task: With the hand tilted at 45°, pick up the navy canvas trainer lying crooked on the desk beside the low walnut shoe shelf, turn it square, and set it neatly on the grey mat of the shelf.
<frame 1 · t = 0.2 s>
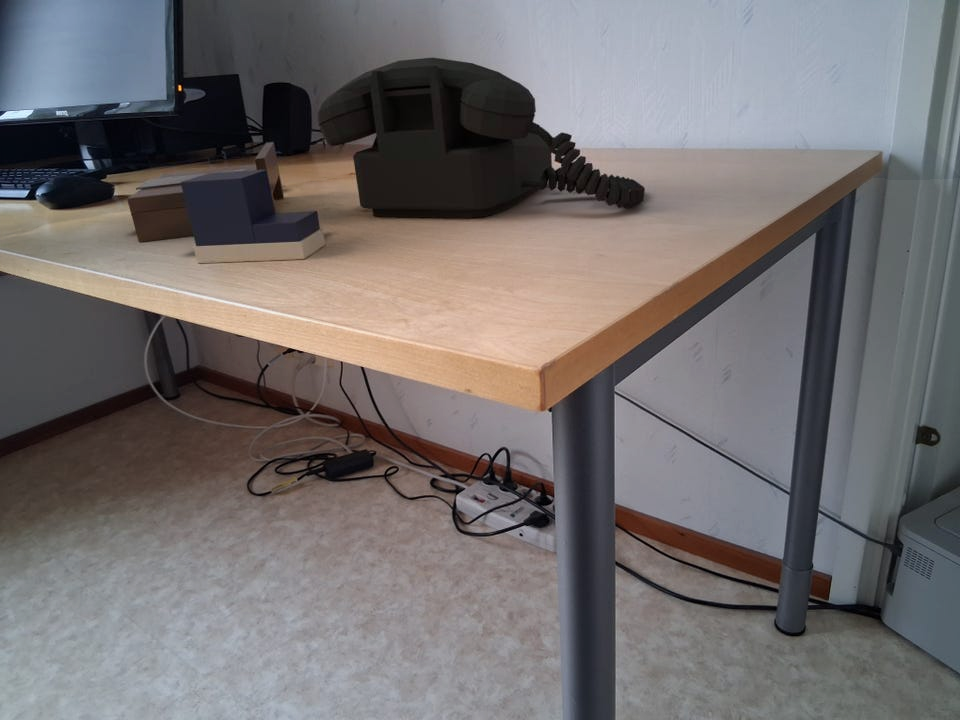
trainer: (242, 254, 62), on the table
shoe shelf: (220, 216, 82), on the table
rotary telephone: (500, 202, 77), on the table
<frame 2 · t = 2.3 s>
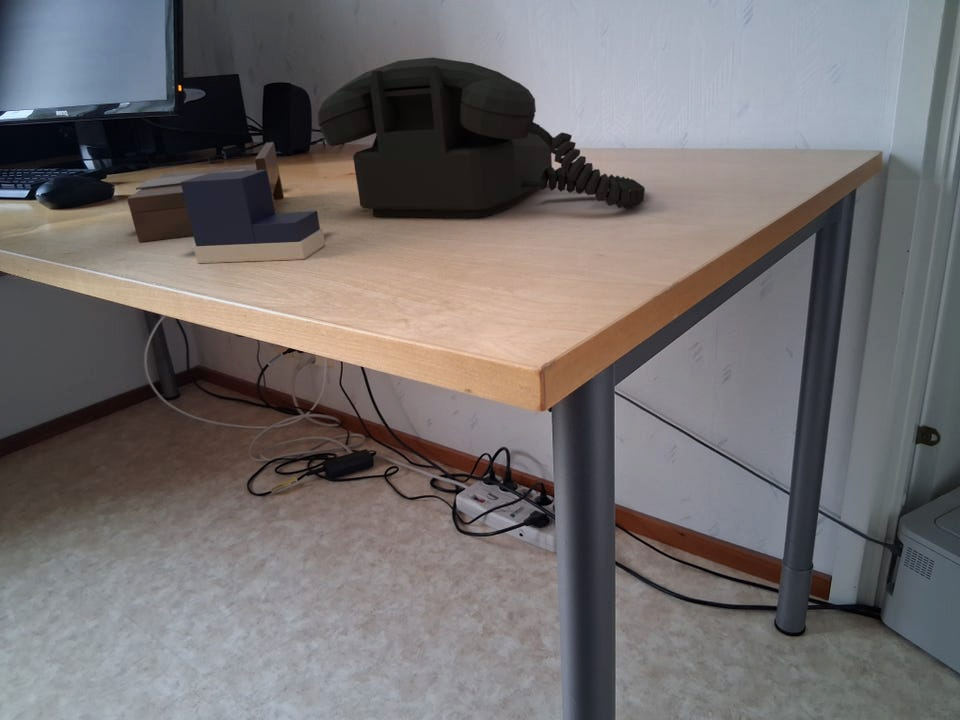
nothing on the table moved.
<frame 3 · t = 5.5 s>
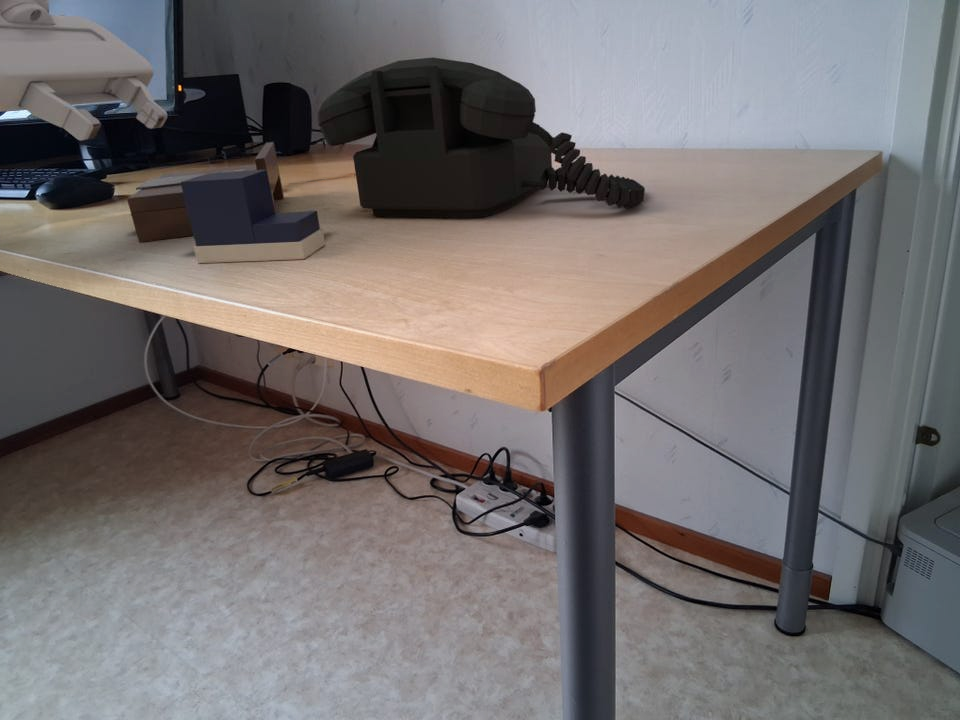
hand: (129, 127, 59), 11 cm above the table, tool tilted 45°, fingers open, 8 cm apart
nothing on the table moved.
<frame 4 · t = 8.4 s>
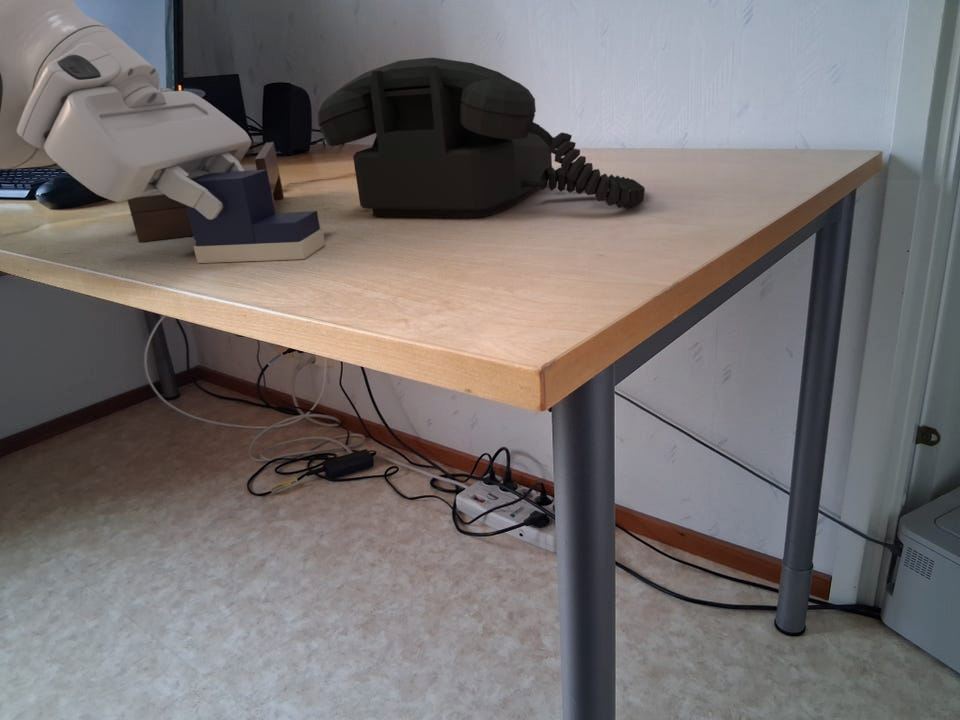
hand: (238, 205, 61), 4 cm above the table, tool tilted 45°, fingers closed on trainer, 5 cm apart
trainer: (242, 254, 62), on the table, touching gripper
everything else where it was.
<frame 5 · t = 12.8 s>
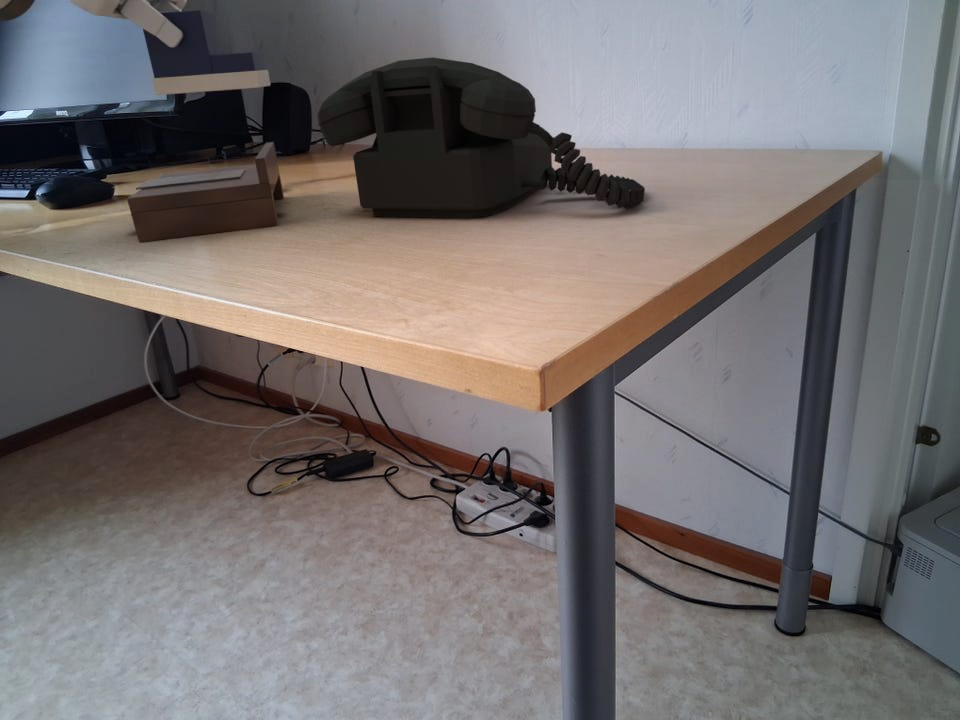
hand: (190, 42, 67), 18 cm above the table, tool tilted 45°, fingers closed on trainer, 5 cm apart
trainer: (195, 91, 69), point 14 cm above the table, touching gripper
everything else where it was.
when the fingers open (9 cm above the table, at t = 17.4 s): trainer stays where it is, resting on shoe shelf.
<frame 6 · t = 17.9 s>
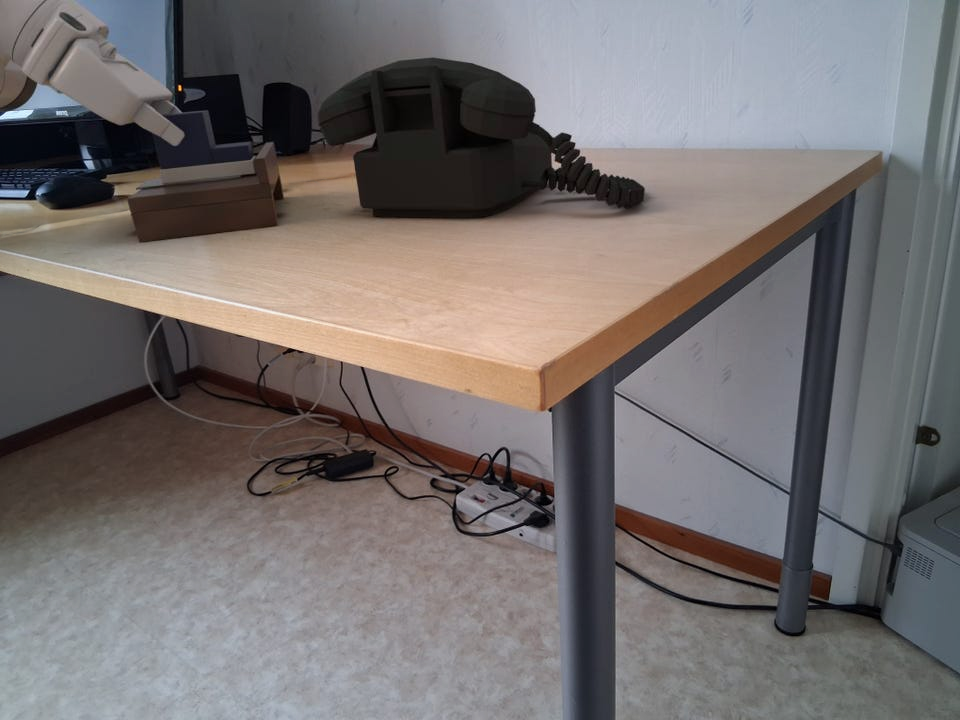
hand: (189, 137, 78), 9 cm above the table, tool tilted 45°, fingers open, 8 cm apart
trainer: (194, 177, 80), point 5 cm above the table, touching shoe shelf
everything else where it was.
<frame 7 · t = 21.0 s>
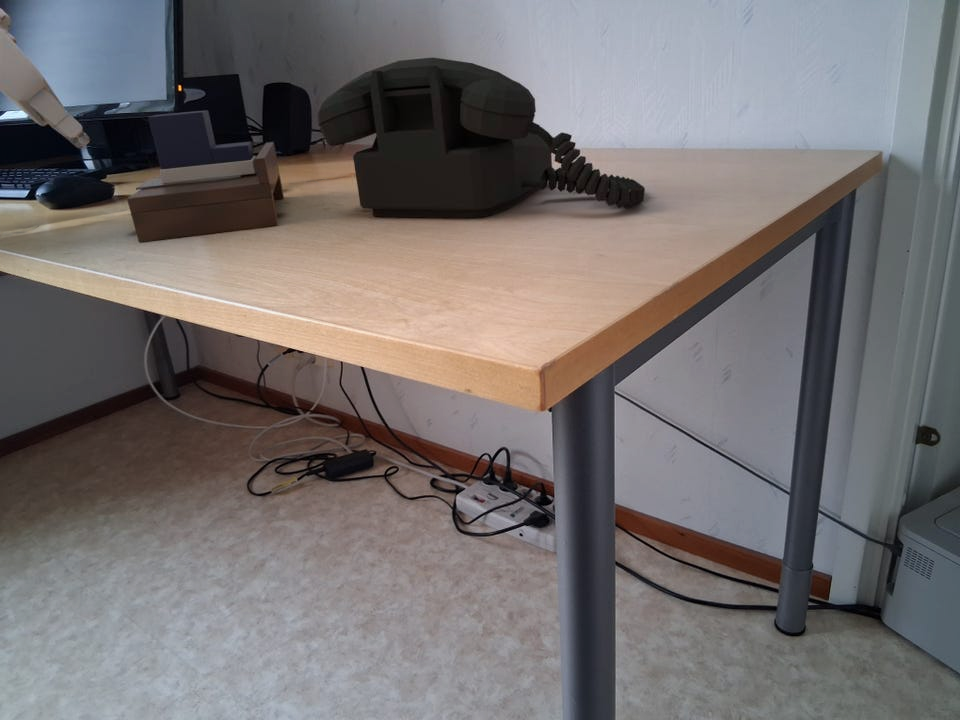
hand: (82, 139, 76), 10 cm above the table, tool tilted 35°, fingers open, 8 cm apart
nothing on the table moved.
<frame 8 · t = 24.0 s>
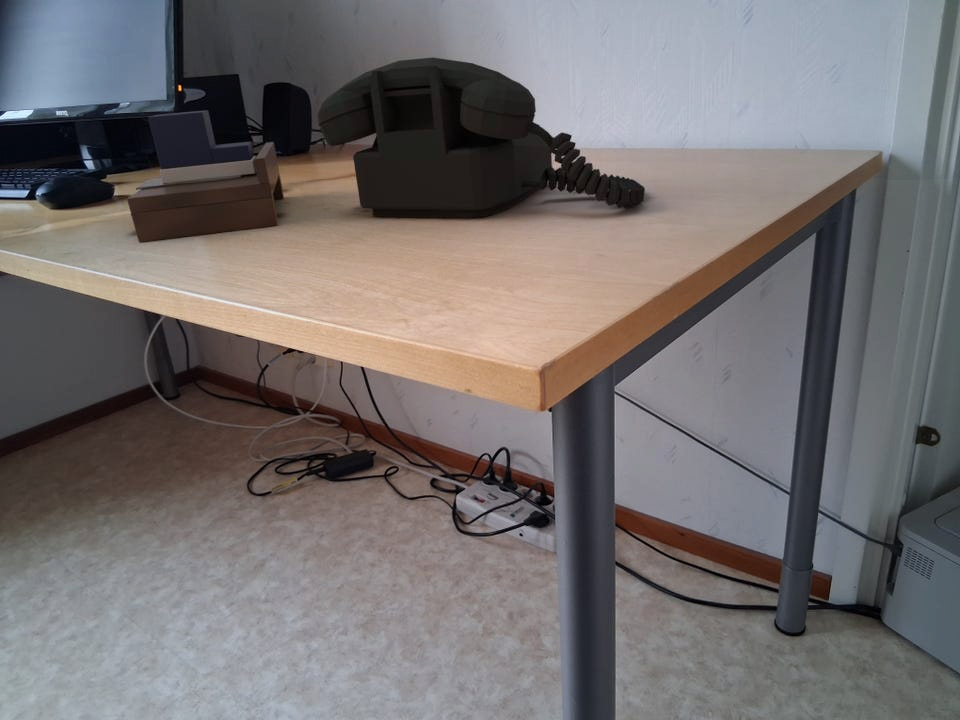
nothing on the table moved.
at the end: trainer 0.1 cm from the target spot on the shoe shelf, point 4.7 cm above the shoe shelf's base; trainer tilted 0°; the gripper is holding nothing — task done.
